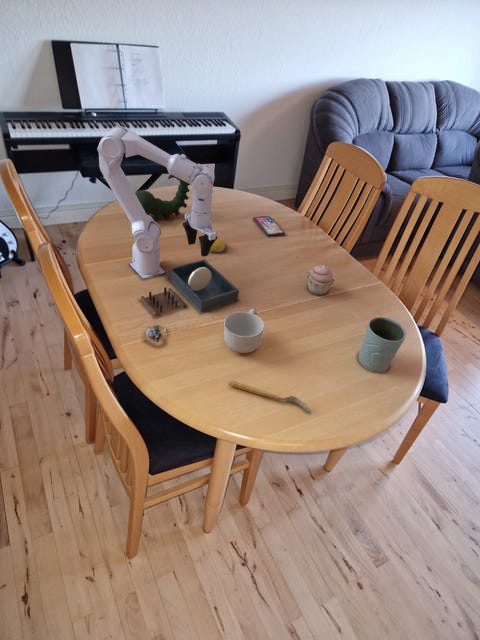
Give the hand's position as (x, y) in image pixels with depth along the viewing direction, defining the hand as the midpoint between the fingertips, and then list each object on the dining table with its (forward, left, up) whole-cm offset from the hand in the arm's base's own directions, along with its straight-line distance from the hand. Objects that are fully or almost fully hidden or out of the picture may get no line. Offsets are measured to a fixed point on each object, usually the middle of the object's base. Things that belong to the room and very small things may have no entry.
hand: (198, 249), depth 137 cm
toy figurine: (-42, +8, -11) cm, 44 cm away
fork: (+52, -12, -11) cm, 55 cm away
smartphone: (-18, +46, -10) cm, 50 cm away
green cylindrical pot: (+57, +23, -11) cm, 62 cm away
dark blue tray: (+7, -2, -10) cm, 13 cm away
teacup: (+33, -5, -11) cm, 35 cm away
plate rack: (+8, -17, -10) cm, 21 cm away
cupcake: (+24, +33, -11) cm, 42 cm away
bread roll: (-14, +16, -11) cm, 24 cm away
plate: (+7, -2, -10) cm, 12 cm away
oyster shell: (+20, -25, -11) cm, 34 cm away
